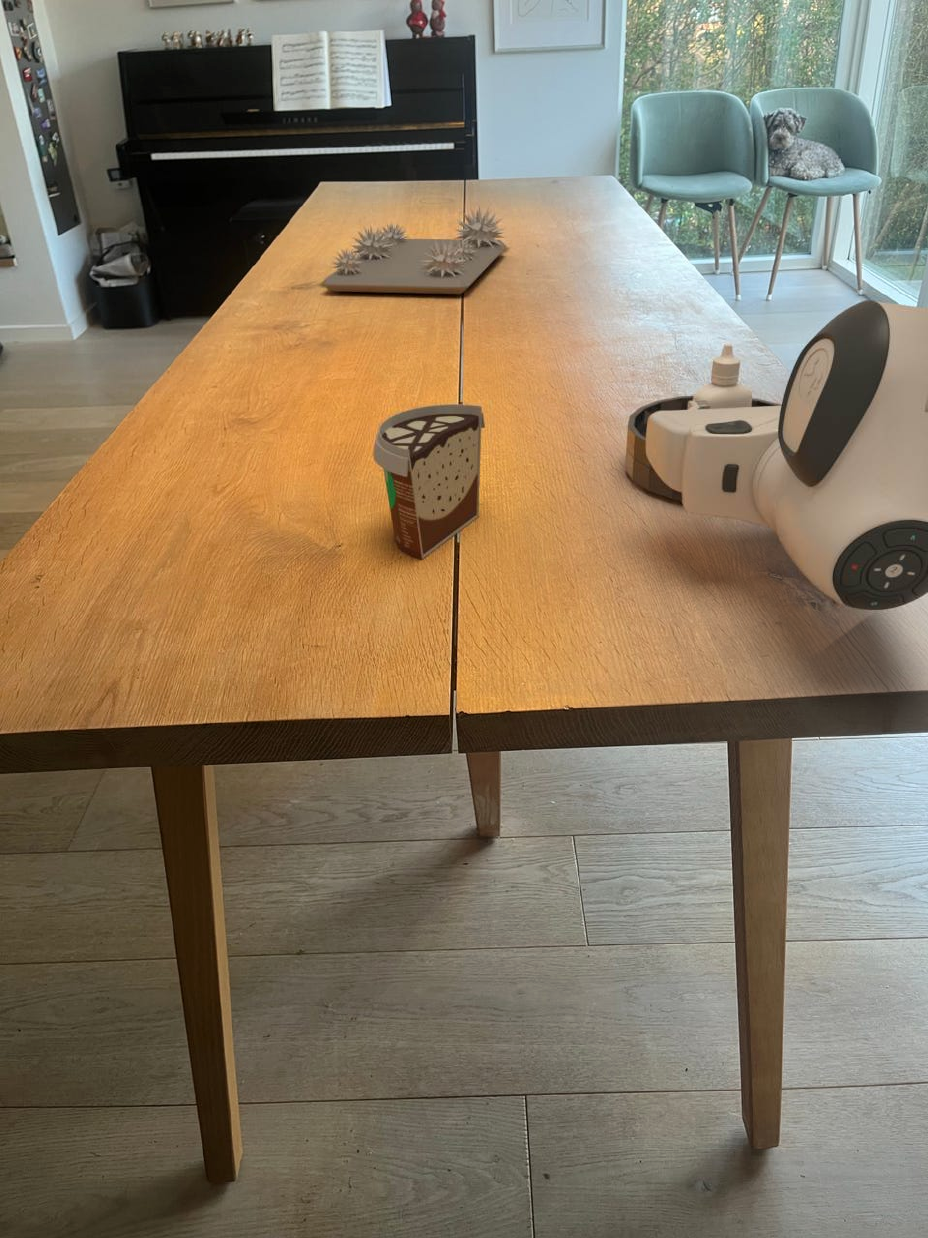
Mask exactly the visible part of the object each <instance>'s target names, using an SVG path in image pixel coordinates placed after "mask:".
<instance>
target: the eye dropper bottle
mask: <svg viewBox="0 0 928 1238" xmlns="http://www.w3.org/2000/svg"><path fill="white" fill-rule="evenodd" d="M740 367H741V360H740V359H739V358H738V357H735V355H734V349H733V344H732V343H725V344H724V345H723V348H722V351H721V354H719V356H716V357H714V358H713V359H712V366H711V376H710V381H711V382H710V383H707V384H706V385H705V386H703V387H701V388H700V389H698V390H697V392H695V394H694V395H693V396H694V397H693V401H703V400H706V401H707V403H709V405H710V409H719V408H741V407H751V405H752V398H753V392H752V391H751V389H750V388H749V387H748V386H746V385H745V384H742V383H740V382H739V378H740V377H739V376H740Z"/></svg>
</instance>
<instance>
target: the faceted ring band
mask: <svg viewBox="0 0 928 1238" xmlns="http://www.w3.org/2000/svg"><path fill="white" fill-rule="evenodd" d="M693 397H694V395H680V396H674V397H669V398H665V399H660V400H655V401H653V402H650V403H648V404H645V405H642V406H640V407H638V408H637V409H636V410H635V411H634V412H632V414H630V415H629V416H628V422H627V430H626V431H627V433H626V450H625V451H626V452H625V466H624V468H625V469H624V470H625V471H626V473H627V474H628V476H629V477H630V479H631V481H632V482H634V483H636V484H637V485H639V486H640V487H642V488H644V489H645V490H647V491H649V492H651V493H654V494H656V495H659V496H663V497H665V498H669V499H671V500H676V501H681V502H683V501H682V492H678V491H676V490H674V489H672V488H670V487H669V486H668V485H666V484H665V483H664V482H663V480H662V479H661V478H660V477H659V476H658V474H657V473H656V471H655V470H654V468H653V467H652V465H651V464H650V462H649V460H648V458H647V455H646V430H647V422H648V418H649V416H650V415H652V414H653V413H655V412H658V411H674V410H687V408H688V402H689V401H693ZM781 405H782V403H781V404H780V403H776V402H773V401H770V400H769V401H768V400H765V399H760V398H754V397H752V405H751V407H764V406H781Z"/></svg>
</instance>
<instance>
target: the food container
mask: <svg viewBox="0 0 928 1238" xmlns="http://www.w3.org/2000/svg"><path fill="white" fill-rule="evenodd" d="M482 409H483V407H482V406H481V405H475V404H460V403H457V404H456V403H450V404H449V403H448V404H447V403H446V404H445V403H444V404H435V405H434V404H433V405H426V406H420V407H414V408H411V409H407V410H404V411H401V412H397V413H396V414H393V415H391V416H389V417H388V418H386V419H384V420H383V421H382V422H381V423H380V425H379V427H378V431H377V433H376V434H375V440H374V447H373V455H372V456H373V460H374V461H375V463H376V464H377V465H378V466H379V467H381V468H382V470H383V474H384V475H383V476H384V482H385V487H386V493H387V499H388V505H389V511H390V517H391V523H392V531H393V535H394V541H395V544H396V547H398V549H399V550H400V551H401V552H403V553H404V554H407V555H408V556H410V557H413V558H415V559H419V560H424V559H425V558H427V557H428V556H429V555H430V554H432V553H433V552H434V551H436V550H437V549H438V548H440V547H441V546H442V545H444V544H445V543H446V542H448V541H449V540H450V539H451V538H453V537H455V535H457V534H458V533H460V532H461V531H462V530H464V529H465V528H466V527H467V526H469V525H470V524H471V523H473V522H474V521H475V520H477V519H478V518H479V517H480V488H481V487H480V484H481V483H480V482H481V455H482V453H481V451H482V429H485V428H486V423H485V417H484V412H483V410H482Z"/></svg>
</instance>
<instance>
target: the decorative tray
mask: <svg viewBox="0 0 928 1238" xmlns="http://www.w3.org/2000/svg"><path fill="white" fill-rule="evenodd" d="M480 206H481V205H478V210H476V214H475V213H474V211H473V208H470V212H471V216H470V215H469V214H468V213H464V212H462V213H463V215H464V219H465V220H466V222H467V223H466V222H463V221H461V220H458V219H456V221H457V223H458V224H459V225H460V226H461V227H462V229H459V228H458V229H455V231H457V232H458V233H457V235H458V236H457V237H454V238H452V239H451V238H409V237H410V236H407V235H405V233H406V232H407V230H408V229H405V230H404V229H403V225H402V226H401V227H400V225H399V222H397V223H396V225H395V226H394V225H393V222H391V224H390V225H389V224H388V223H386V228H385V227H384V226H381V228H380V226H378V227H377V229H376V230H375V229H373V228H372V226H369V227H370V228H366V227H365V226H363V229H364V234H365V235H364V234H363V233H362V232H360V231H358V230H356V232H357V233H358V235H359V237H360V239H359V238H357V237H353V236H352V239H353V240H354V241H355V242H356V243H358V244H350V245H349V246H350V247H351V248H352V249H351V250H349V251H348V247H346V248H345V250H344V249H343V248H341V253H342V255H341V254H340V253H339V252H336V254H337V255H338V257H336V256H332V257H333V258H334V259H335V260H336V261H332V262H330V263H332V264H333V265H334V266H333V267H331V268H332V269H335V271H334V272H332V273H330V274H329V275H328V276H327V277H326V278H325V279H324V280H323V281H322V282H321V285H322V286H323V287H324V288H325V289H327V290H328V291H329V292H346V293H347V292H349V293H350V292H352V293H389V294H390V293H394V294H396V293H398V294H433V295H434V294H435V295H436V294H437V295H462V294H463V293H464V292H465V291H466V290H467V289H468V288H469V287H470V286H471V285H472V284H473V283H474V282H475V281H476V280H477V279H478V278H479V277H480V276H481V275H482V274H483V273H484V271H485V270H486V269H487V268H488V267H490V265H491V264H493V262H494V261H495V260H496V259H497V258H498V257H499V256H500V255H501V253H502V252H503V251H505V249H506V248H507V245H506V244H505V243H504V242H503V241H502V240H501V239H505V238H506V237H505V236H502V234H503V232H501V231H504V230H505V228H499V226H498V224H499V223H500V222H501V221H502V220H503V218H501V219H498V218H499V216H497V217H496V215H497V211H496V212H495V213H494V214H493V215H492V216H490V211H491V209H490V206H488V207H487V209H486V211H485V212H484V215H483V213H482V212H483V211H481V207H480ZM489 216H490V218H489ZM497 219H498V220H497ZM382 230H383V231H382Z"/></svg>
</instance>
